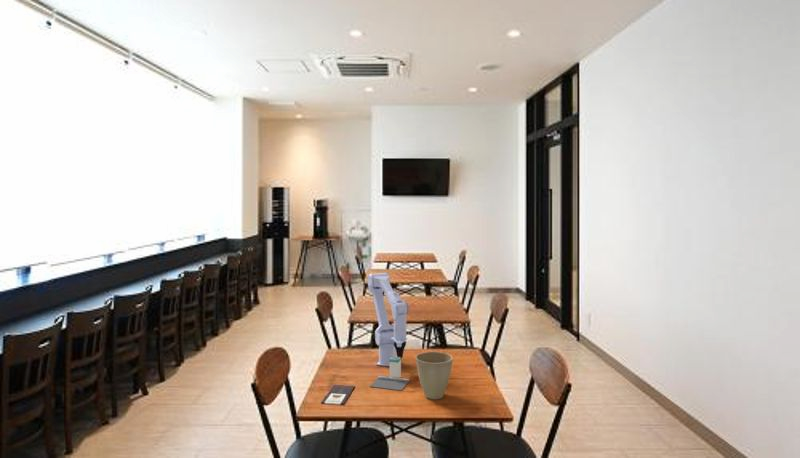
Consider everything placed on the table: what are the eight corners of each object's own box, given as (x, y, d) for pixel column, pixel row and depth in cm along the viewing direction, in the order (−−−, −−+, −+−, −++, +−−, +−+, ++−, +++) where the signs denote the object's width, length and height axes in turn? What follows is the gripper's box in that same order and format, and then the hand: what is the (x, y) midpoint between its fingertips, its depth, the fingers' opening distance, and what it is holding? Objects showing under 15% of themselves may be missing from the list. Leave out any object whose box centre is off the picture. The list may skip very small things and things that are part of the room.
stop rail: (378, 378, 216) (378, 375, 216) (408, 381, 212) (408, 378, 212) (377, 379, 215) (377, 376, 215) (407, 382, 211) (407, 380, 211)
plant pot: (460, 398, 195) (460, 358, 194) (429, 406, 187) (429, 365, 186) (437, 386, 207) (437, 349, 206) (408, 393, 199) (408, 355, 198)
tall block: (392, 375, 219) (392, 356, 219) (401, 376, 218) (401, 357, 218) (389, 379, 215) (389, 359, 215) (398, 380, 214) (398, 360, 214)
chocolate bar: (354, 386, 206) (343, 403, 188) (354, 388, 206) (343, 406, 188) (334, 384, 207) (321, 402, 190) (334, 387, 207) (321, 404, 190)
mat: (377, 379, 215) (377, 378, 215) (407, 383, 211) (407, 382, 211) (369, 386, 206) (369, 386, 206) (401, 390, 202) (401, 390, 202)
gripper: (392, 324, 229) (392, 352, 230) (390, 332, 215) (390, 363, 216) (407, 324, 229) (407, 352, 230) (406, 332, 215) (406, 363, 215)
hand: (399, 357), depth 223 cm, fingers closed
